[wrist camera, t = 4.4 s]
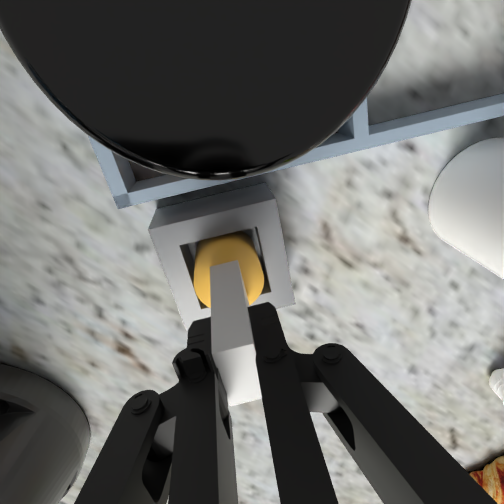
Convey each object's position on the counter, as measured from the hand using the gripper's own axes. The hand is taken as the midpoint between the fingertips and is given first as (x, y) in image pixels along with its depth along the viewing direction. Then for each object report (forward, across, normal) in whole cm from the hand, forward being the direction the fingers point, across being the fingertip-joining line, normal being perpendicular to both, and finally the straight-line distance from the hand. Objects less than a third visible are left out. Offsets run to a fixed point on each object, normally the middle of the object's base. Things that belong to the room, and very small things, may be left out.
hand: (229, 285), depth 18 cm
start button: (+4, 0, 0) cm, 4 cm away
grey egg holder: (+5, 0, 0) cm, 5 cm away
